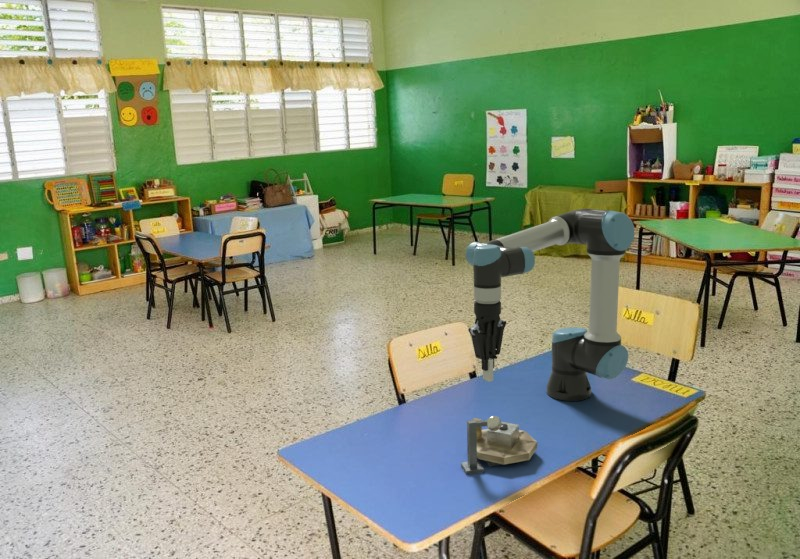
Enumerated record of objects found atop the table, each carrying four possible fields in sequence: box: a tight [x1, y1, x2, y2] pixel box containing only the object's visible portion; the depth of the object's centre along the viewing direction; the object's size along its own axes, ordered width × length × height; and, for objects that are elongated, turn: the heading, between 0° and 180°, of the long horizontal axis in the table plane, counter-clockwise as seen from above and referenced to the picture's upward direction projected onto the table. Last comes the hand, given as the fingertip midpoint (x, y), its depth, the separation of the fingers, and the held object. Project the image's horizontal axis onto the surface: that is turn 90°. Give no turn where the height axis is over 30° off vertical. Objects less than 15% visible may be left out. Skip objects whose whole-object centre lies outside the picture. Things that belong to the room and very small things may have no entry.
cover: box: [487, 421, 520, 448], centre depth 190 cm, size 7×7×5 cm
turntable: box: [471, 417, 538, 465], centre depth 190 cm, size 18×18×7 cm
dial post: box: [460, 415, 503, 475], centre depth 182 cm, size 10×5×15 cm, turn 102°
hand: (488, 379), depth 192 cm, fingers closed
